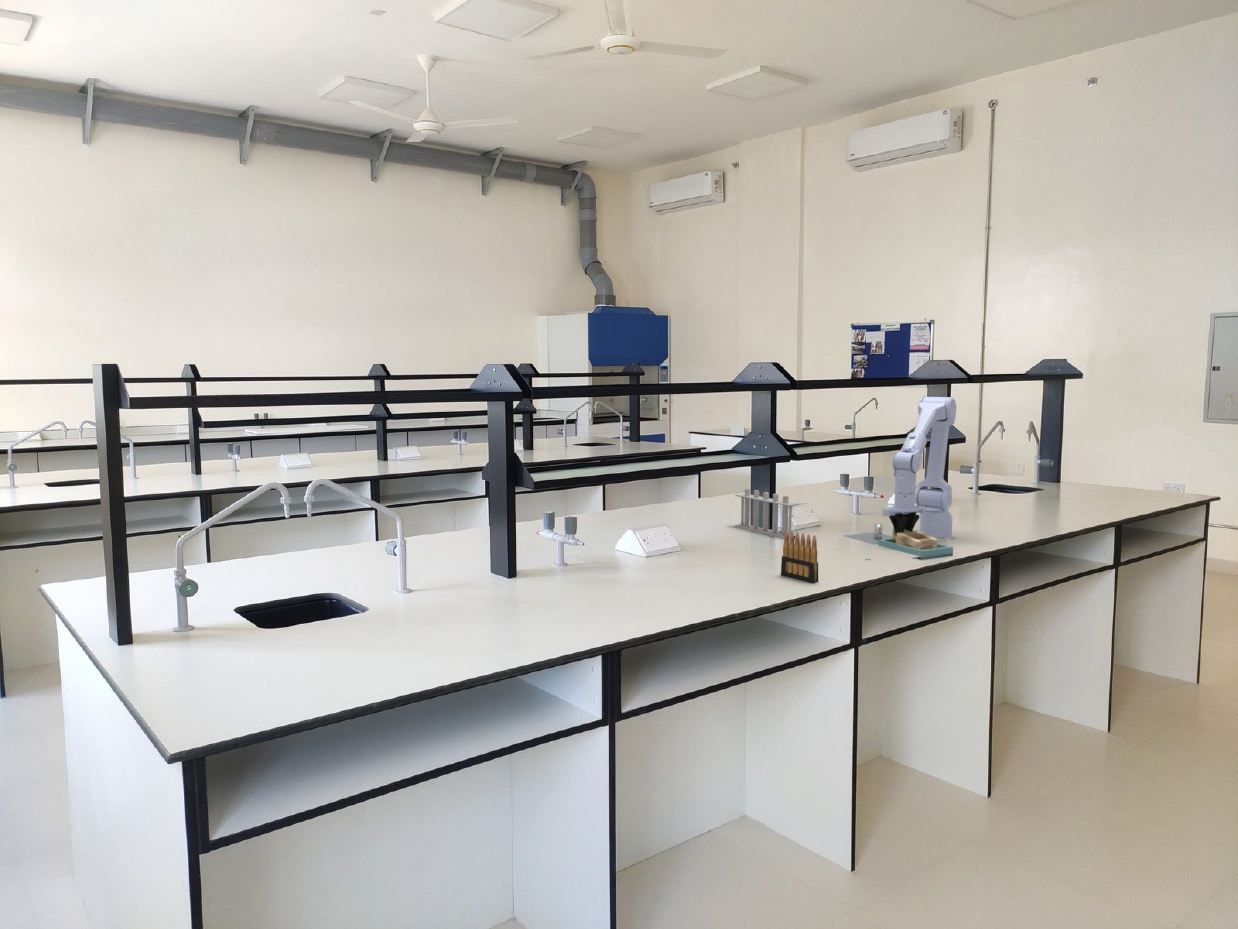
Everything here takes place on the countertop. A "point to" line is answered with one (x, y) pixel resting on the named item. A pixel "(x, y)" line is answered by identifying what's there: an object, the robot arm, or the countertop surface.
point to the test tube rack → (765, 513)
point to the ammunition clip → (800, 558)
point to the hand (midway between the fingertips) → (903, 538)
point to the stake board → (871, 535)
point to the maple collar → (915, 539)
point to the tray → (925, 554)
